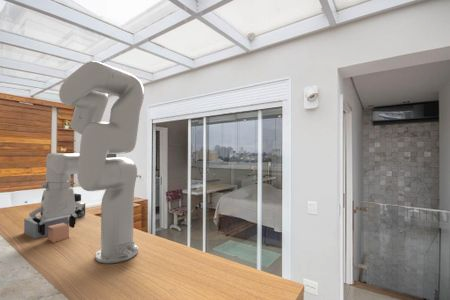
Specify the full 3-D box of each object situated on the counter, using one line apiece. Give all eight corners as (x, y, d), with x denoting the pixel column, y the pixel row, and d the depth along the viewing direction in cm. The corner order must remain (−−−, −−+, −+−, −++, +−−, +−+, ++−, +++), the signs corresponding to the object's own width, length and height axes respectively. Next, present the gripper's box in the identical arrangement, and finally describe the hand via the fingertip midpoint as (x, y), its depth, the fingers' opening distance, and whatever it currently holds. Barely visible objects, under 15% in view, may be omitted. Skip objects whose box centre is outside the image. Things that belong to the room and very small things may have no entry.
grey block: (68, 231, 96) (68, 216, 96) (35, 239, 87) (35, 223, 87) (55, 226, 102) (55, 212, 102) (24, 233, 92) (24, 218, 92)
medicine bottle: (76, 221, 108) (76, 195, 108) (61, 221, 108) (61, 195, 108) (85, 216, 115) (85, 192, 115) (71, 216, 115) (71, 192, 115)
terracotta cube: (68, 238, 88) (68, 225, 88) (53, 242, 84) (53, 229, 84) (63, 235, 91) (63, 222, 91) (48, 239, 87) (48, 226, 87)
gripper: (33, 190, 78) (32, 240, 78) (87, 184, 92) (86, 226, 93) (26, 187, 82) (25, 234, 83) (78, 182, 97) (78, 222, 97)
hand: (57, 230), depth 88 cm, fingers open, 9 cm apart
